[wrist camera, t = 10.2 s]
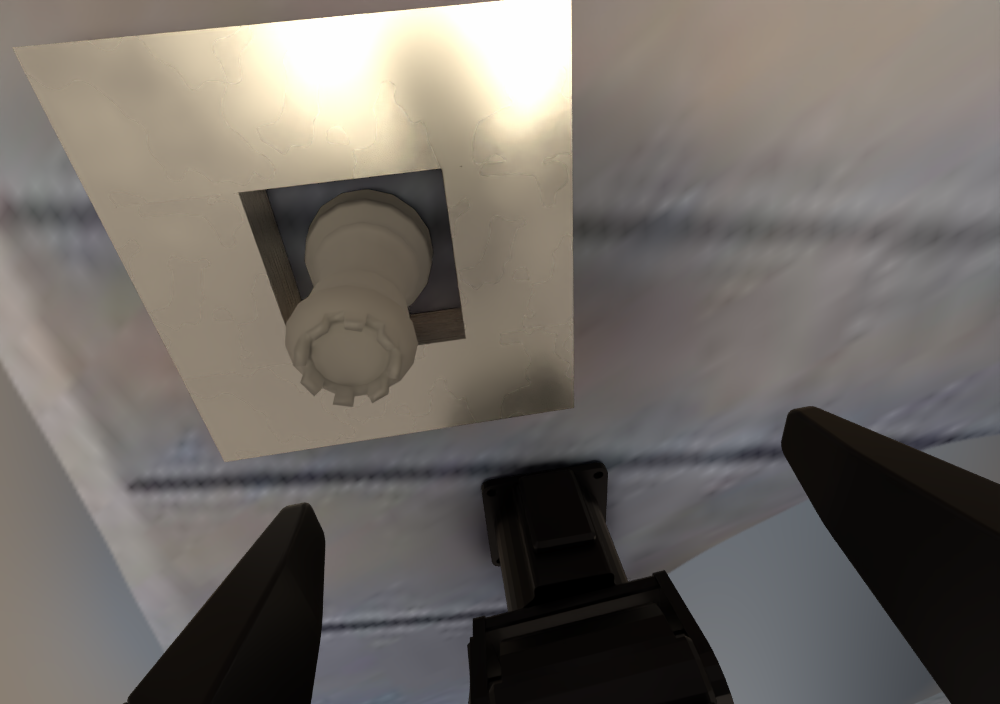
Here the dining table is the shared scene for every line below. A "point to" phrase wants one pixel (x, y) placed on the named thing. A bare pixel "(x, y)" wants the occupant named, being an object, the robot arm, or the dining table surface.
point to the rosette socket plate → (323, 158)
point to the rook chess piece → (360, 296)
